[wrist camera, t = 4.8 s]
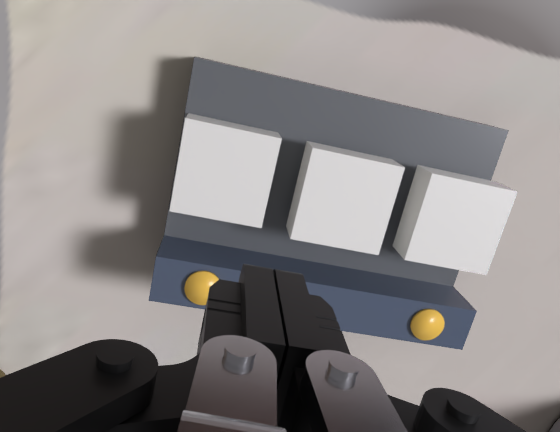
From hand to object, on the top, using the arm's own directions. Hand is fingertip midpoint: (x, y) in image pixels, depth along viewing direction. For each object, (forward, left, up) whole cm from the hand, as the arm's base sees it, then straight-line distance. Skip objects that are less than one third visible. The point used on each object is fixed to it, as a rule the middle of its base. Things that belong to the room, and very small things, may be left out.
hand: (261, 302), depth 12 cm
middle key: (-5, -1, -14) cm, 14 cm away
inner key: (-10, -3, -14) cm, 17 cm away
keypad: (-5, 0, -17) cm, 17 cm away
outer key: (+1, 0, -14) cm, 15 cm away
